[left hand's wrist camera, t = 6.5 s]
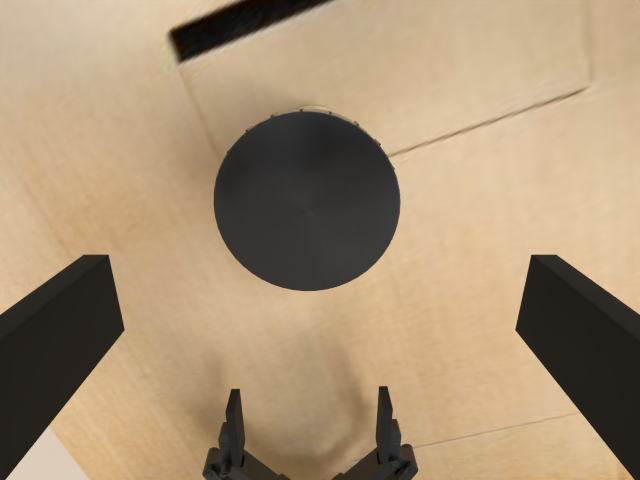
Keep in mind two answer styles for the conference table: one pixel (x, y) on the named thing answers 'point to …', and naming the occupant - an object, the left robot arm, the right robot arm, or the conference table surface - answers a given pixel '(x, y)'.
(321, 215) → the lid
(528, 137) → the conference table surface
